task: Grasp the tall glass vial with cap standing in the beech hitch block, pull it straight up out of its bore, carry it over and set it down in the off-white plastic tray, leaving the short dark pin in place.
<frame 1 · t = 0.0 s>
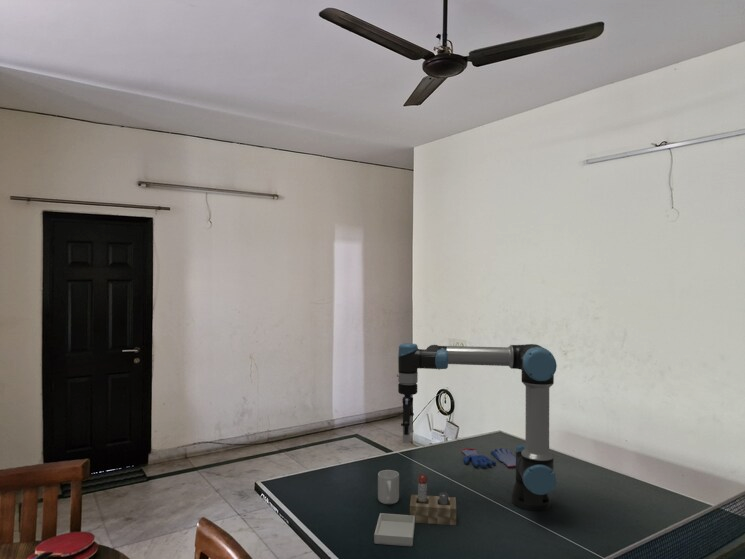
hand: (407, 437, 194), 28 cm above the table, fingers open, 13 cm apart
pair of gloves: (492, 461, 249), on the table
tray: (395, 533, 174), on the table
hitch block: (433, 517, 187), on the table
short pin: (443, 518, 186), resting in hitch block
glass vial with cap: (422, 516, 187), resting in hitch block
mug: (388, 502, 200), on the table
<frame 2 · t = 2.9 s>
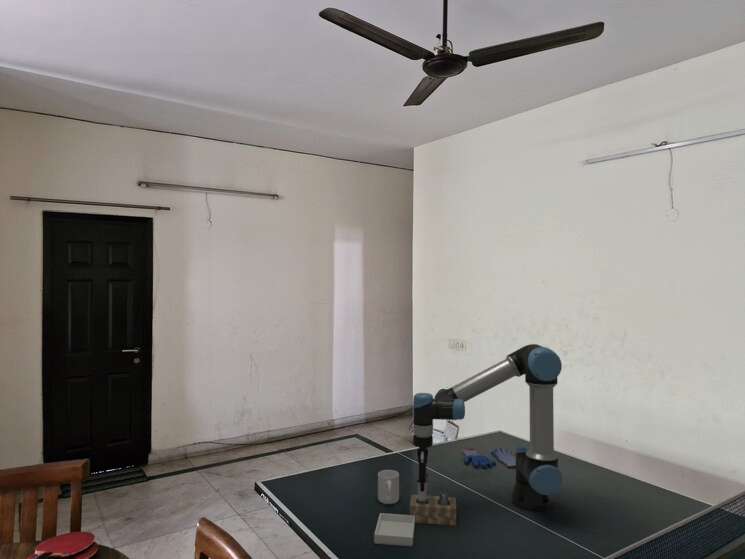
hand: (422, 496, 187), 8 cm above the table, fingers closed on glass vial with cap, 3 cm apart
glass vial with cap: (422, 516, 187), resting in hitch block, touching gripper
everything else where it was.
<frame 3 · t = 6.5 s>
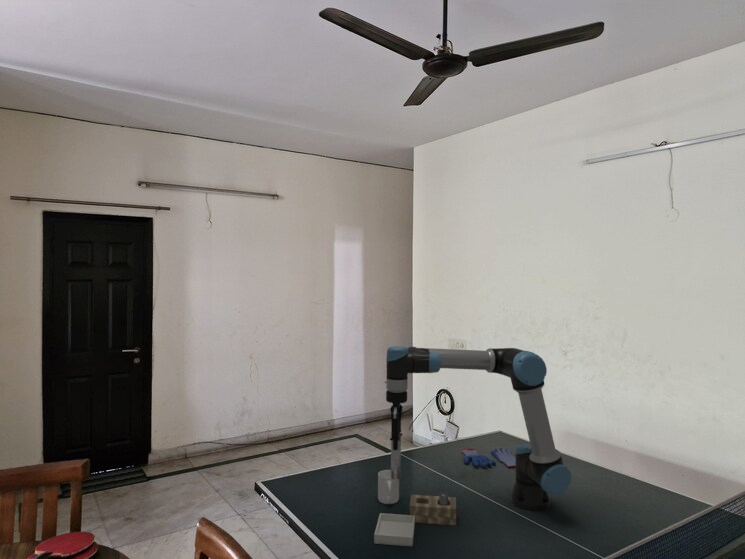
hand: (396, 456, 175), 27 cm above the table, fingers closed on glass vial with cap, 3 cm apart
glass vial with cap: (395, 477, 175), point 19 cm above the table, touching gripper
everything else where it was.
when the fingers open (9 cm above the table, at t = 10.0 s): glass vial with cap stays where it is, resting on tray.
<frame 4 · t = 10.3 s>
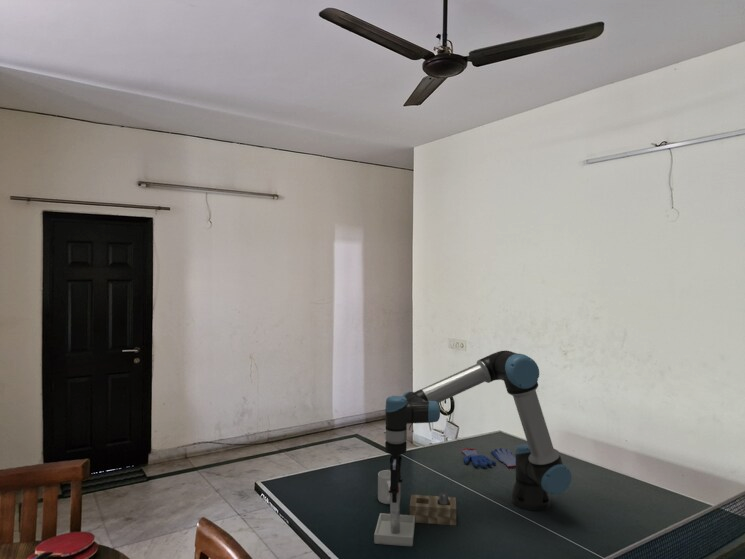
hand: (395, 505, 175), 10 cm above the table, fingers open, 7 cm apart
glass vial with cap: (395, 531, 174), point 1 cm above the table, touching tray
everything else where it was.
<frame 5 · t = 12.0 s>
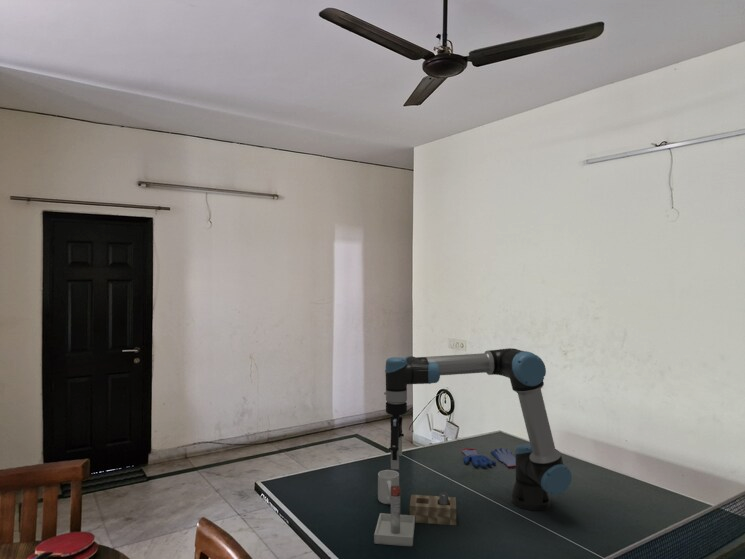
hand: (396, 461, 175), 25 cm above the table, fingers open, 13 cm apart
nothing on the table moved.
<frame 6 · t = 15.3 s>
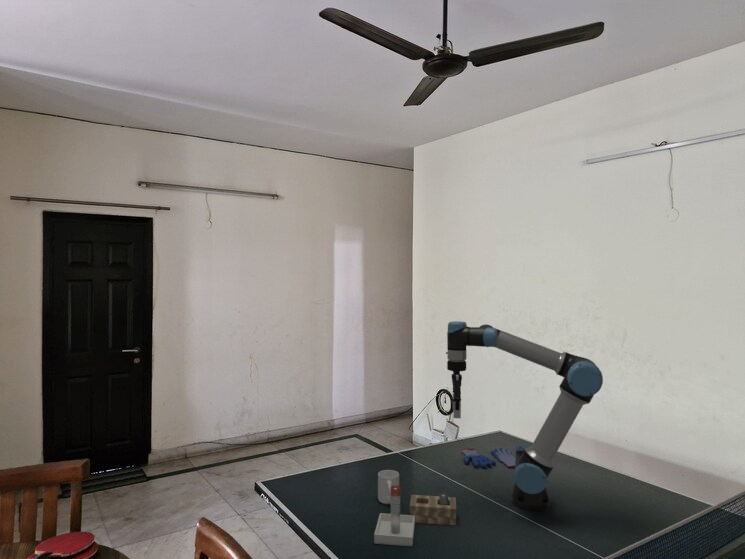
hand: (456, 413, 197), 37 cm above the table, fingers open, 13 cm apart
nothing on the table moved.
at the end: glass vial with cap inside the target area on the tray (0.0 cm from its centre), point 0.6 cm above the tray's base; the gripper is holding nothing; short pin moved 0.0 cm from its start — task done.
